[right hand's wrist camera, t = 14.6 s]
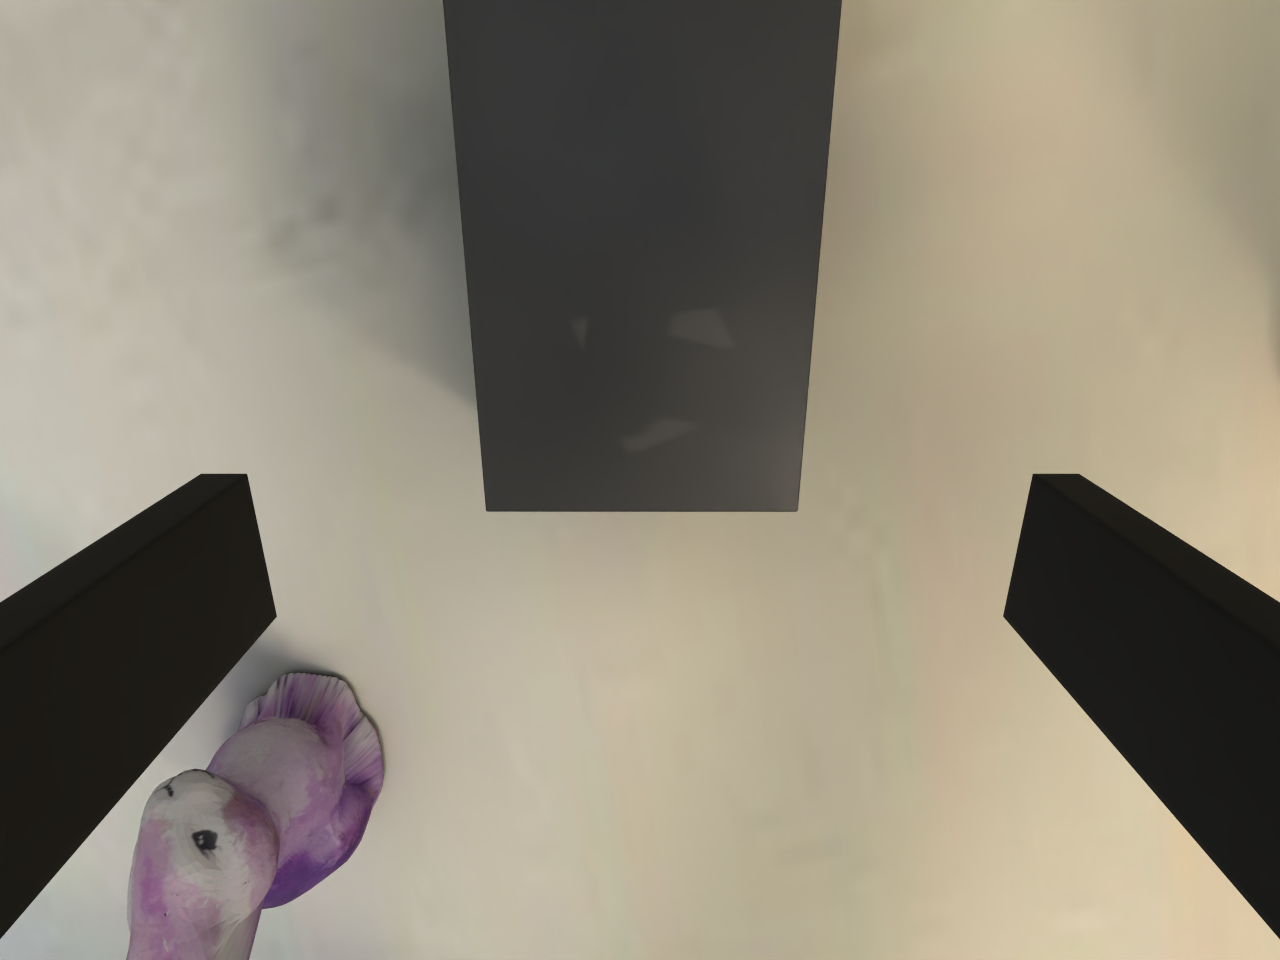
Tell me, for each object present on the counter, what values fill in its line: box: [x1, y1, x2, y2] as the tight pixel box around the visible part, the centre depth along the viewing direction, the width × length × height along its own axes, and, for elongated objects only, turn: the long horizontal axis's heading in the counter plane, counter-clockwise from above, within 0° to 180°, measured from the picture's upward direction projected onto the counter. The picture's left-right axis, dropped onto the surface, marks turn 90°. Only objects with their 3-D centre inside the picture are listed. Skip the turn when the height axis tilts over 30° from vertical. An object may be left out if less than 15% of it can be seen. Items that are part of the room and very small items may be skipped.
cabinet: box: [443, 0, 842, 512], centre depth 26 cm, size 16×11×8 cm
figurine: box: [126, 673, 383, 960], centre depth 32 cm, size 9×10×15 cm
